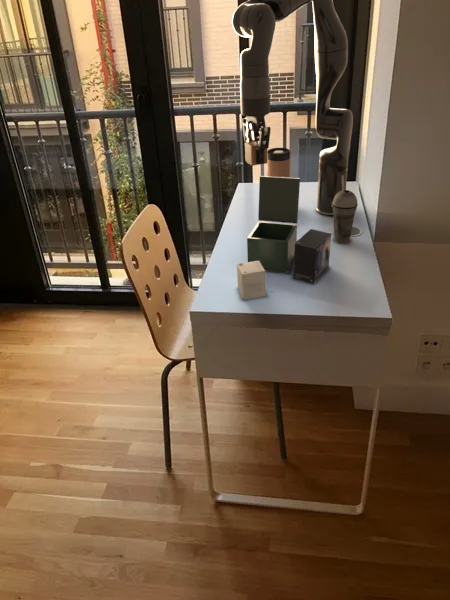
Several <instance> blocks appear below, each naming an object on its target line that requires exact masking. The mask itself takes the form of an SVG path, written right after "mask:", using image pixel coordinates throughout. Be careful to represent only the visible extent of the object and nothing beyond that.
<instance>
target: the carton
mask: <svg viewBox="0 0 450 600" xmlns="http://www.w3.org/2000/svg"><path fill="white" fill-rule="evenodd" d="M258 143H259V141H258ZM267 151H268V149H265V150H264V164H263V165H266V164H268V153H267ZM244 160H245V162H246V163H247V164H249V166H251V167H253V166H261V164H259V165H258V164H256V148H255V142H254V141H251V142H247V141H246V142H245V141H244Z"/></svg>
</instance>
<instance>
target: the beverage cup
mask: <svg viewBox="0 0 450 600" xmlns="http://www.w3.org/2000/svg"><path fill="white" fill-rule="evenodd" d="M358 204H359V203H358V198H357V196H356V194H355V193H354V192H353V191H351V190H348V189H346V190H344V176H342V191H340V192H338V193H337V194H336V195H335V197H334V199H333V203H332V205H333V212H334V215H333V239H334V242H335V243H337V244H340V245H341V244H342V245H344V244H348V243H349V242H350V241H351V237H352V231H353V227H354V222H355V221H354V220H355V216H356V215H355V214H356V211H357V208H358V206H359V205H358Z"/></svg>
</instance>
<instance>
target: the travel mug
mask: <svg viewBox="0 0 450 600" xmlns="http://www.w3.org/2000/svg"><path fill="white" fill-rule="evenodd" d="M266 174H267V177H285V178H291V150H290V149H289V148H287V147H272V148H268V149H267V173H266Z"/></svg>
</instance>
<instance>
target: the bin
mask: <svg viewBox="0 0 450 600" xmlns="http://www.w3.org/2000/svg"><path fill="white" fill-rule="evenodd" d="M297 241H298V224H295V223H283V222H271V221H257V223H256V224H255V226H254V227H253V228H252V230H251V232H250V233H249V235H248V236H247V238H246V248H247V249H246V251H247V262H253V261H260V263H261V265H262V266H263V268H264V270H265V272H273V273H275V272H276V273H284V274H288V273H289V270H290V269H291V267H292V264H293V263H294V243H296V242H297Z"/></svg>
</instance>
